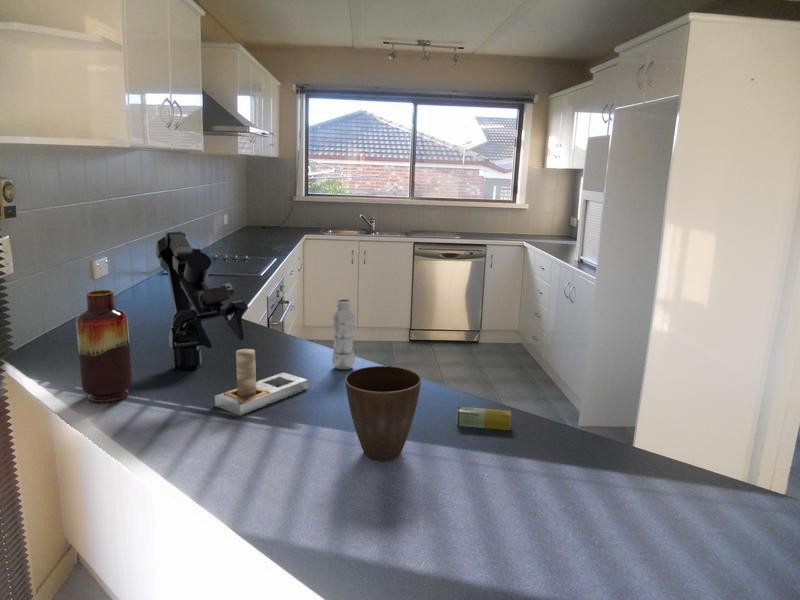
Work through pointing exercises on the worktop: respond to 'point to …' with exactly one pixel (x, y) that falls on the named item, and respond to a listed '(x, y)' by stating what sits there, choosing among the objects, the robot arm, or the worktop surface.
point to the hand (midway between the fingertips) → (226, 343)
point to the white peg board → (262, 393)
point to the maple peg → (246, 373)
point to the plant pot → (382, 408)
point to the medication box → (483, 418)
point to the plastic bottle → (343, 336)
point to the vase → (104, 349)
